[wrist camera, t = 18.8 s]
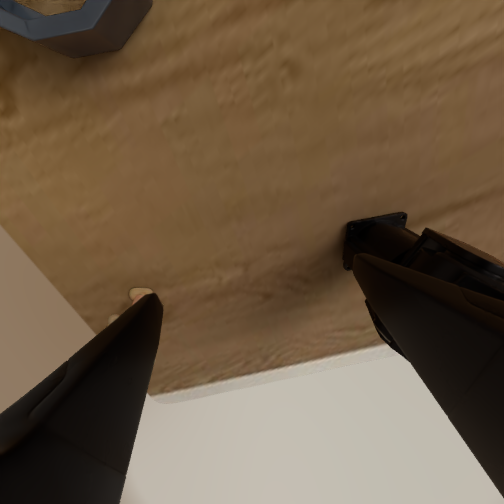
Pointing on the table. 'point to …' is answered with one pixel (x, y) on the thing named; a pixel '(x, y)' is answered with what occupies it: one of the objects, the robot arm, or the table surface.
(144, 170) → the table surface
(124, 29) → the ring
